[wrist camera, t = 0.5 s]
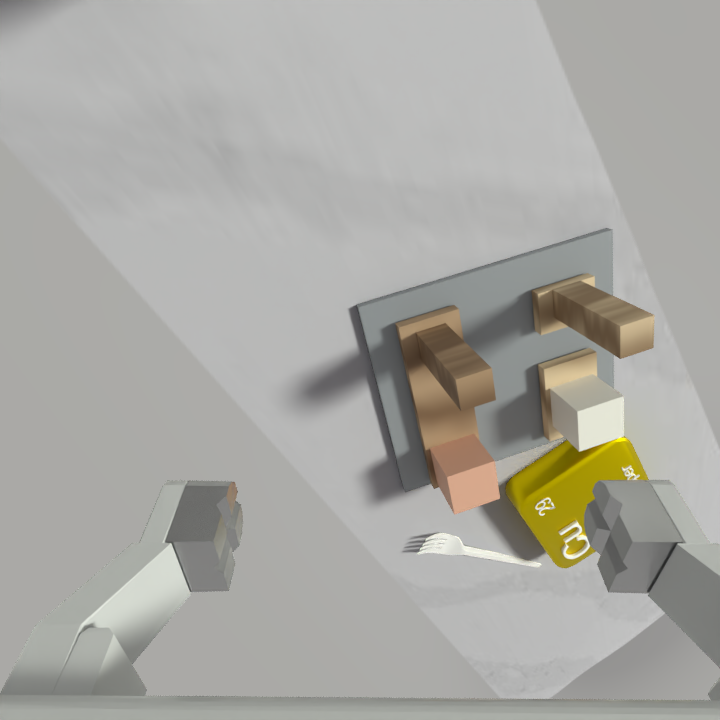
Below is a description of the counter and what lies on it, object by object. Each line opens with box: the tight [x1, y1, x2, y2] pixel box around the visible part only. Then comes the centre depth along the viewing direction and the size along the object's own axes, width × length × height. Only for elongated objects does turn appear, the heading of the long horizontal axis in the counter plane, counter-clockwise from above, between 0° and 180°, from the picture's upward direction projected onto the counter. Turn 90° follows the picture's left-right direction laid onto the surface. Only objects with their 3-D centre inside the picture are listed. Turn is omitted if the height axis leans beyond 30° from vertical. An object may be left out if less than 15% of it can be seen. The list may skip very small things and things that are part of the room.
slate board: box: [357, 228, 614, 492], centre depth 55 cm, size 23×26×1 cm
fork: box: [417, 533, 542, 568], centre depth 66 cm, size 3×20×2 cm, turn 65°
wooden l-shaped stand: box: [395, 305, 496, 489], centre depth 49 cm, size 20×6×11 cm, turn 14°
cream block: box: [550, 374, 624, 452], centre depth 54 cm, size 5×5×5 cm
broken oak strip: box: [532, 273, 654, 441], centre depth 50 cm, size 18×6×11 cm, turn 14°
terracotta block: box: [430, 434, 500, 514], centre depth 54 cm, size 5×5×5 cm
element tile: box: [505, 436, 649, 568], centre depth 64 cm, size 15×15×5 cm
